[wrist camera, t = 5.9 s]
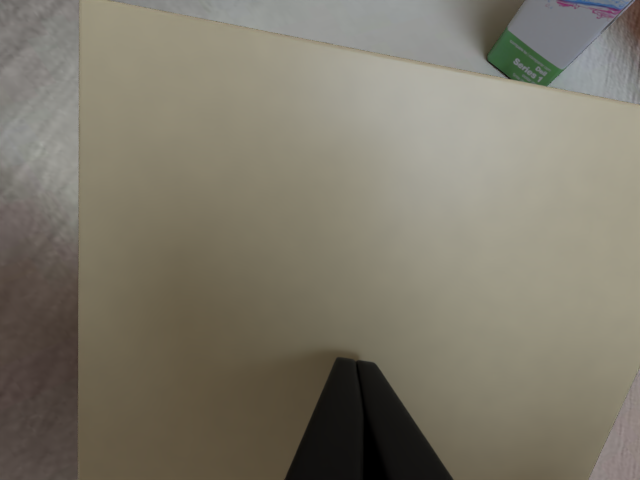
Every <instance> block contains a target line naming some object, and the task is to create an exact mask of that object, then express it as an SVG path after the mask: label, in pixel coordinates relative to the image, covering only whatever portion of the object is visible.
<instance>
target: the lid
mask: <svg viewBox="0 0 640 480" xmlns="http://www.w3.org/2000/svg"><path fill="white" fill-rule="evenodd" d="M337 357H344V358H350V359H354V360H355V362H356V361H357V360H364V361H370V362H374V363H375V364H377V366H378V367H379V369H380V370H381V372H382V373H383V375H384V376H385V378H386V379H387V381H388V382H389V384H390V385H391V387H392V388H393V390H394V391H395V393H396V394H397V396H398V397H399V399H400V400H401V402H402V403H403V405H404V406H405V408H406V409H407V411H408V412H409V414H410V415H411V417H412V418H413V420H414V421H415V423H416V424H417V426H418V427H419V429H420V430H421V432H422V433H423V435H424V436H425V437H426V439H427V440H428V442H429V443H430V445H431V446H432V448H433V449H434V451H435V452H436V454H437V455H438V457H439V458H440V460H441V461H442V463H443V464H444V466H445V467H446V469H447V470H448V472H449V473H450V475H451V476H452V478H453V479H454V480H588V479H589V477H590V475H591V473H592V470H593V468H594V466H595V464H596V462H597V460H598V457H599V455H600V453H601V451H602V449H603V447H604V444H605V442H606V440H607V438H608V436H609V433H610V431H611V429H612V427H613V425H614V423H615V420H616V418H617V416H618V414H619V412H620V409H621V407H622V405H623V403H624V401H625V399H626V396H627V394H628V392H629V390H630V388H631V386H632V383H633V381H634V379H635V377H636V375H637V372H638V370H639V368H640V105H639V104H634V103H629V102H624V101H618V100H613V99H608V98H603V97H598V96H593V95H588V94H583V93H578V92H573V91H568V90H563V89H557V88H552V87H547V86H542V85H537V84H532V83H527V82H522V81H517V80H512V79H507V78H502V77H497V76H491V75H486V74H481V73H476V72H471V71H466V70H461V69H456V68H451V67H446V66H441V65H436V64H430V63H425V62H420V61H415V60H410V59H405V58H400V57H395V56H390V55H385V54H380V53H375V52H369V51H364V50H359V49H354V48H349V47H344V46H339V45H334V44H329V43H324V42H319V41H314V40H308V39H303V38H298V37H293V36H288V35H283V34H278V33H273V32H268V31H263V30H258V29H253V28H247V27H242V26H237V25H232V24H227V23H222V22H217V21H212V20H207V19H202V18H197V17H192V16H186V15H181V14H176V13H171V12H166V11H161V10H156V9H151V8H146V7H141V6H136V5H131V4H125V3H120V2H115V1H110V0H79V266H78V480H284V479H285V477H286V474H287V472H288V470H289V467H290V465H291V463H292V460H293V458H294V456H295V453H296V451H297V449H298V446H299V444H300V442H301V439H302V437H303V435H304V432H305V430H306V428H307V425H308V423H309V421H310V418H311V416H312V413H313V411H314V409H315V406H316V404H317V402H318V399H319V397H320V395H321V392H322V390H323V388H324V385H325V383H326V381H327V378H328V376H329V374H330V371H331V369H332V367H333V364H334V362H335V360H336V358H337Z"/></svg>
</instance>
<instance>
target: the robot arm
mask: <svg viewBox="0 0 640 480" xmlns="http://www.w3.org/2000/svg"><path fill="white" fill-rule="evenodd" d="M284 480H454V479H453V478H452V476H451V475H450V473H449V472H448V470H447V469H446V467H445V466H444V464H443V463H442V461H441V460H440V458H439V457H438V455H437V454H436V452H435V451H434V449H433V448H432V446H431V445H430V443H429V442H428V440H427V439H426V437H425V436H424V435H423V433H422V432H421V430H420V429H419V427H418V426H417V424H416V423H415V421H414V420H413V418H412V417H411V415H410V414H409V412H408V411H407V409H406V408H405V406H404V405H403V403H402V402H401V400H400V399H399V397H398V396H397V394H396V393H395V391H394V390H393V388H392V387H391V385H390V384H389V382H388V381H387V379H386V378H385V376H384V375H383V373H382V372H381V370H380V369H379V367H378V366H377V364H375V363H374V362H370V361H364V360H357V361H356V362H355V360H354V359H350V358H344V357H337V358H336V360H335V362H334V364H333V367H332V369H331V371H330V374H329V376H328V378H327V381H326V383H325V385H324V388H323V390H322V392H321V395H320V397H319V399H318V402H317V404H316V406H315V409H314V411H313V413H312V416H311V418H310V421H309V423H308V425H307V428H306V430H305V432H304V435H303V437H302V439H301V442H300V444H299V446H298V449H297V451H296V453H295V456H294V458H293V460H292V463H291V465H290V467H289V470H288V472H287V474H286V477H285V479H284Z"/></svg>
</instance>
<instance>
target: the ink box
mask: <svg viewBox="0 0 640 480" xmlns="http://www.w3.org/2000/svg"><path fill="white" fill-rule="evenodd" d="M634 1H635V0H525V1H524V3H523V4H522V6H521V7H520V9H519V10H518V12H517V13H516V14H515V16H514V17H513V19H512V20H511V22H510V23H509V24H508V26H507V27H506V29H505V30H504V32H503V33H502V35H501V36H500V37H499V39H498V40H497V42H496V43H495V45H494V46H493V48H492V49H491V51H490V52H489V54H488V55H487V57H488V61H489V62H491V63H492V64H493V65H495V66H496V67H497V68H498V69H500V70H501V71H502V72H503V73H505V74H506V75H507V76H508V77H510V78H511V79H512V80H517V81H522V82H527V83H532V84H537V85H542V86H548V85H549V84H550V83H551V82H552V81H553V80H554V79H555V78H556V77H557V76H558V75H559V74H560V73H561V72H562V71H563V70H564V69H565V68H566V67H567V66H568V65H570V64H571V63H572V62H573V61H574V60H575V59H576V58H577V57H578V56H579V55H580V54H581V53H582V52H583V51H584V50H585V49H586V48H587V47H588V46H589V45H590V44H591V43H592V42H593V41H594V40H595V39H596V38H597V37H599V36H600V35H601V34H602V33H603V32H604V31H605V30H606V29H607V28H608V27H609V26H610V25H611V24H612V23H613V22H614V21H615V20H616V19H617V18H618V17H619V16H620V15H621V14H622V13H623V12H624V11H625V10H626V9H627V8H628V7H629V6H630V5H631V4H632V3H633V2H634Z"/></svg>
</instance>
